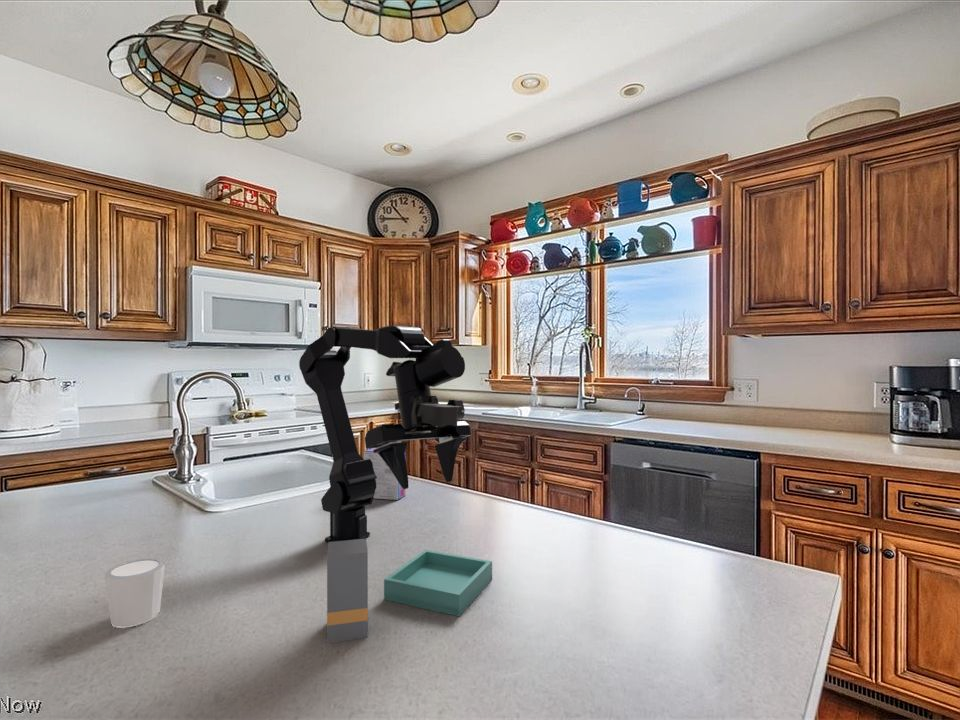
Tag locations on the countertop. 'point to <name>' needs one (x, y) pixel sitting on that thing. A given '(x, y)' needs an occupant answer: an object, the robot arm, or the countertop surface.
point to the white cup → (135, 591)
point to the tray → (439, 582)
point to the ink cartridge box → (384, 478)
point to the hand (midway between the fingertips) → (428, 485)
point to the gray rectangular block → (347, 590)
